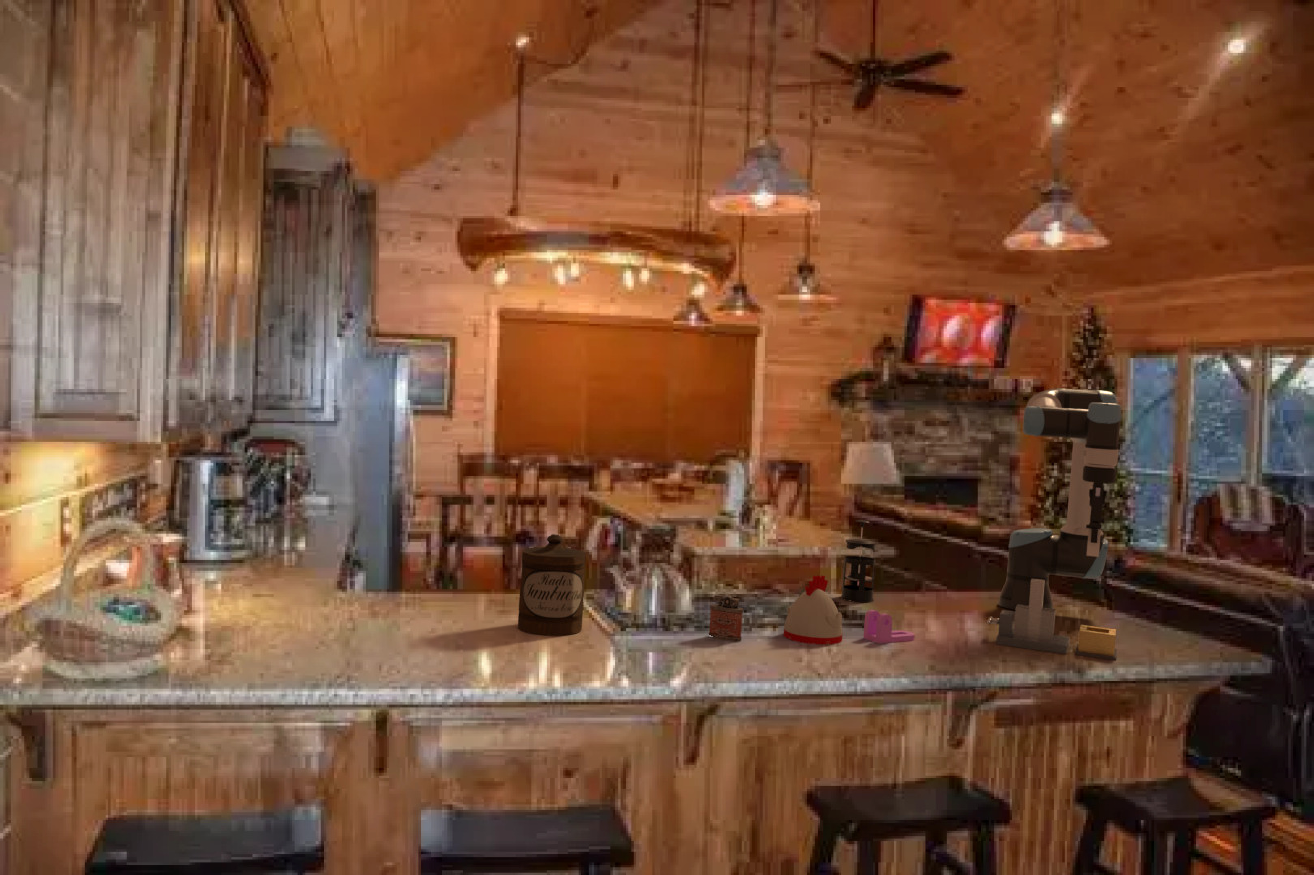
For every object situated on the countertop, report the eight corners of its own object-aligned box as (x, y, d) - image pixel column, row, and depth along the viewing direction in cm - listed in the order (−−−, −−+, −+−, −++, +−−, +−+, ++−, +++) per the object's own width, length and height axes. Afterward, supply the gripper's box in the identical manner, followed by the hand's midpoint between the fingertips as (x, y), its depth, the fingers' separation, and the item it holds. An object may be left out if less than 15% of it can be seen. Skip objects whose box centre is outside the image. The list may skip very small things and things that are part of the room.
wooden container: (520, 635, 245) (526, 538, 244) (515, 621, 259) (520, 529, 258) (585, 636, 248) (591, 540, 247) (577, 622, 262) (582, 531, 261)
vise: (989, 633, 279) (994, 571, 279) (1068, 644, 272) (1073, 580, 271) (983, 642, 268) (988, 577, 268) (1066, 654, 261) (1071, 587, 260)
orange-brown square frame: (1079, 644, 270) (1080, 624, 269) (1114, 649, 266) (1115, 629, 266) (1078, 651, 262) (1079, 630, 262) (1114, 656, 259) (1115, 635, 259)
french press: (877, 603, 312) (883, 523, 311) (845, 601, 312) (850, 521, 311) (867, 595, 324) (873, 518, 323) (836, 594, 324) (841, 517, 323)
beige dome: (853, 640, 262) (857, 578, 261) (820, 647, 252) (824, 583, 251) (805, 629, 271) (809, 569, 271) (772, 635, 261) (776, 573, 261)
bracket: (879, 643, 260) (881, 614, 260) (863, 638, 265) (865, 610, 264) (919, 640, 267) (921, 612, 266) (903, 635, 271) (905, 607, 271)
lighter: (743, 639, 254) (746, 597, 254) (738, 642, 251) (741, 599, 251) (711, 634, 258) (714, 592, 257) (706, 637, 255) (708, 594, 254)
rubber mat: (1077, 645, 271) (1077, 643, 271) (1116, 651, 268) (1116, 648, 268) (1075, 654, 261) (1075, 652, 261) (1116, 660, 257) (1116, 657, 257)
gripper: (1084, 461, 279) (1078, 544, 281) (1082, 467, 256) (1075, 557, 257) (1116, 464, 276) (1109, 547, 278) (1117, 470, 253) (1109, 561, 255)
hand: (1093, 552), depth 268 cm, fingers open, 13 cm apart
